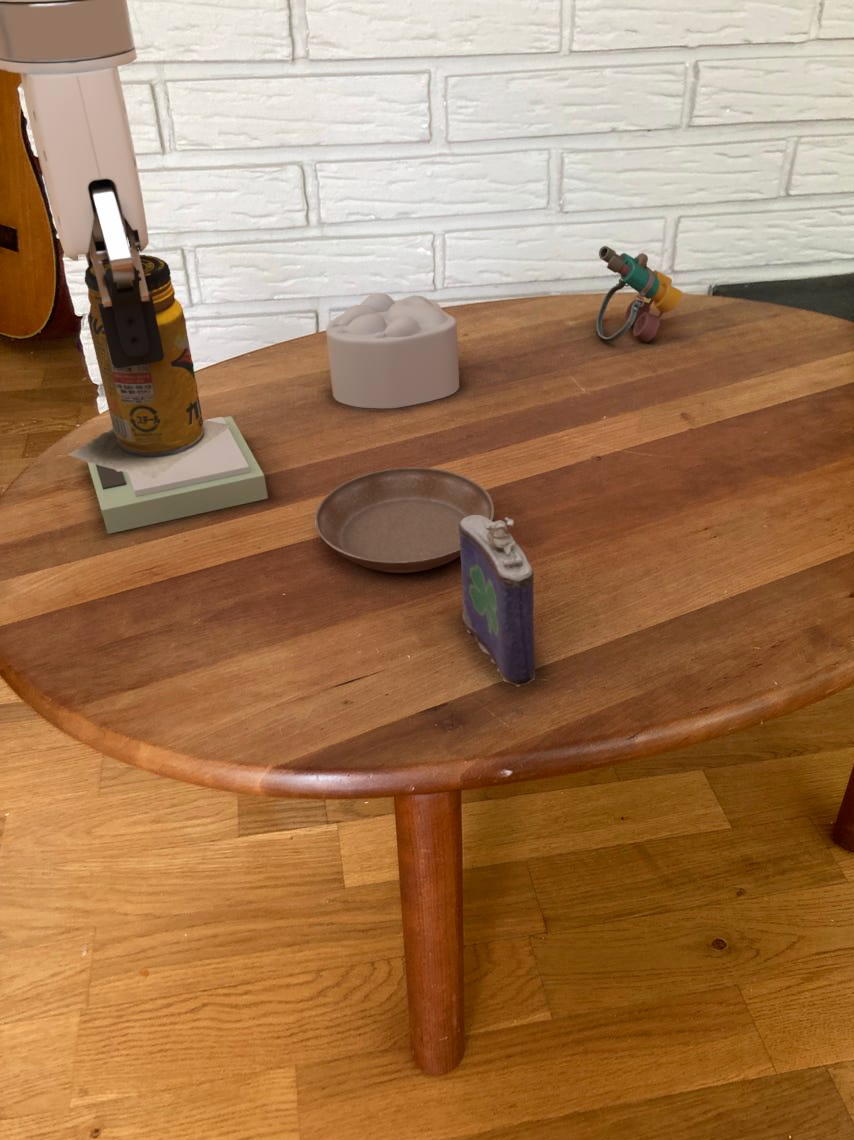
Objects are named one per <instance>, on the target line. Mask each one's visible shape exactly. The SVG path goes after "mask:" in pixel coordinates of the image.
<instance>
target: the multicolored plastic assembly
mask: <svg viewBox="0 0 854 1140" xmlns="http://www.w3.org/2000/svg"><path fill="white" fill-rule="evenodd" d="M616 252H617V251H615V250H614V249H612V248H611V247H609V246H607V245H604V246H601V247H600V248H599V251H598V257H599V259H600V260H602V261H604V262H605V263H607V266H606V269H608V270H610V271H611V272H613V273H615V274H616V273H618V274H619V275H620V278H619V279H618V283H616V284H615V285H613V286H612V287H611V288H610V289H609V290H608V292H607V293H606V295H605V296H604V298H603V301H602V303H601V305H600V307H599V310H598V314H597V316H596V331H597V334H598V336H599V337H600V338H602V339H604V340H605V341H607V342H615V341H616V340H618V339H620V338H621V337H622V336H624V334H626V333H627V332H628V331H629V330H630V329H631V327H633V329H632V330H633V331H632V332H633V333H632V334H633V335H634V336H635V337H637V338H638V339H640V340H641V341H643V342H644V343H649V342H650V341H651V340H653V338H654V337H655V336H656V334H657V332H658V330H659V327H660V322H661V318H662V316H663V315H664V314H666V313H668V312H669V313H670V312H671V311H672V310H674V308H676V307H677V305H679V303H680V302H681V300H682V298H683V291H682V290H680V289H678V288H676V287H675V286H673V285H672V283H673V279H672V278H671V277H669V276H667V275H666V274H664V273H661V272H660V271H658V270H656V269H654V270H652V268H650V267H648V260H649V257H648V254H646V253H643V252H641V253H639V254H638V255H637V256H634V257H632V256H630V255H629V254H628V253H626V252H623V253H620V255H619V254H617V253H616ZM625 287H631V288H632V289H633V290H635V292H637V293H638V294H636V295H634V296H633V298H632V301H631V302H630V303H629V305H628V306H627V309H626V311H625V314H624V322H625V324H624V325H623V326H622V327H621V328H620V329H619V330H618V331H617V332H616V333H614V334H613V335H612V336H609V337H607V336H605V335H604V333H603V318H604V315H605V312H606V310H607V308H608V304H609V303H610V300H611V298H613V296H614V294H616V293H617V292H618V291H621V290H622V289H623V288H625ZM636 298H637V299H636ZM644 298H645V299H647V300H649V302H646V301H645V299H644ZM652 304H653V306H654V307H655V308H656V309H657V310H658V311H659V314H658V315H656V314H653V313H650V311H651V306H652Z"/></svg>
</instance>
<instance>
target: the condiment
mask: <svg viewBox="0 0 854 1140" xmlns="http://www.w3.org/2000/svg"><path fill="white" fill-rule="evenodd" d="M139 255H140V259H141V264H142V268H143V272H144V276H145V281H146V285H147V289H148V293H149V296H151V297H152V299H153V304H154V309H155V314H156V319H157V323H158V328H159V333H160V338H161V343H162V348H163V353H164V358H163V359H162V360H161V361H159V362H153V363H147V364H141V365H135V366H129V367H123V368H116V367H115V366H114V365H113V364H112V361H111V357H110V353H109V349H108V344H107V340H106V336H105V332H104V327H103V323H102V319H101V315H100V311H99V306H98V304H100V303H102V299H101V295H100V291H99V287H98V283H97V279H96V275H95V271H94V267H93V264H92V265H90V266H87V268H86V269H85V272H84V283H85V285H86V286H87V289H88V290H87V291H88V292H87V298H88V302H89V304H90V305H89V312H88V315H87V323H88V327H89V328H88V329H89V331H90V336H91V341H92V344H93V349H94V352H95V357H96V358H95V359H96V361H97V362H96V363H97V365H98V370H99V374H100V378H101V382H102V386H103V391H104V396H105V400H106V404H107V409H108V412H109V416H110V421H111V425H112V428H111V429H110V430H108V431H107V432H103V433H101V434H100V435H99V436H98V437H96V438H93V439H92V440H91V441H90V442H88V443H86V444H83V445H84V446H83V445H82V446H79V447H77V448H75V449H74V450H73V451H71V452H69V453H68V454H67V456H70V457H72V458H76V459H78V460H79V461H84V462H87V463H88V462H90V463H94V464H97V465H99V466H103V467H107V468H111V469H115V470H116V471H117V472H119V471H124V472H128V473H132V474H134V475H137V476H145V477H149V478H152V479H154V478H155V477H157V476H159V475H160V474H161V473H162V472H164V471H166V470H168V469H169V468H170V467H171V466H172V465H173V464H175V463H177V462H179V461H180V460H181V459H182V458H184V457H186V456H188V455H189V454H191V453H193V452H195V451H196V450H198V449H199V448H201V447H202V446H204V445H205V444H206V443H208V442H209V441H211V440H213V439H214V438H216V437H217V436H218V435H219V434H221V433H223V432H224V431H225V430H226V429H228V428H229V426H230V425H226V424H223V423H219V422H213V421H206V420H207V419H203V413H202V408H201V401H200V397H199V396H200V395H199V391H198V384H197V379H196V374H195V370H194V361H193V358H192V353H191V347H190V341H189V335H188V329H187V323H186V321H187V320H186V317H185V314H184V310H183V307H182V304H181V303H180V301H179V300H178V299H177V298H176V297H175V294H176V292H175V288H174V287H173V283H172V276H171V269H170V268H169V264H168V263H167V262H166V261H165V260H163V259H162V258H160V257H158V256H157V257H156V256H154V255H153V256H152V255H147V254H139ZM102 264H103V268H104V272H105V275H106V269H110V266H109V262H106V263H102ZM108 288H109V287H108Z"/></svg>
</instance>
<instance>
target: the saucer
mask: <svg viewBox="0 0 854 1140" xmlns="http://www.w3.org/2000/svg"><path fill="white" fill-rule="evenodd" d="M471 515H481V516H484V517H487V518H488V519H489V520H491V521H493V520H494V516H495V506H494V502H493V499H492V497H491V495H490V493H489V492H488V491H487V490H486V489H485V488H484V487H483V486H481V484H479V483H477V482H476V481H475V480H472V479H471V478H469V477H467V476H464V475H462V474H459V473H456V472H453V471H448V470H445V469H438V468H432V467H420V466H419V467H415V466H412V467H411V466H410V467H395V468H387V469H381V470H377V471H372V472H369V473H366V474H363V475H359V476H357V477H355V478H352V479H349V480H348V481H346V482H344V483H342V484H341V485H339V486H337V487H336V488H335V489H333V490H332V491H330V492H329V493H328V494H327V495H326V496H325V497H324V498H323V499H322V500H321V501H320V503H319V505H318V506H317V508H316V511H315V515H314V525H315V528H316V531H317V534H319V536H320V538H321V539H322V540H323V541H324V542H325V543H326V544H327V545H328V547H330V548H331V549H332V550H333V551H335V552H336V553H337V554H339V555H340V556H342V557H343V558H345V559H347V560H348V561H350V562H352V563H354V564H357V565H359V566H361V567H364V568H367V569H370V570H374V571H378V572H383V573H392V574H405V573H407V574H408V573H417V572H423V571H428V570H431V569H435V568H438V567H441V566H443V565H445V564H446V565H447V564H448V563H450V562H452V561H454V560H456V559H458V558H459V557H461V554H460V536H459V522H460V521H461V520H462V519H463V518H466V517H468V516H471Z"/></svg>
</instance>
